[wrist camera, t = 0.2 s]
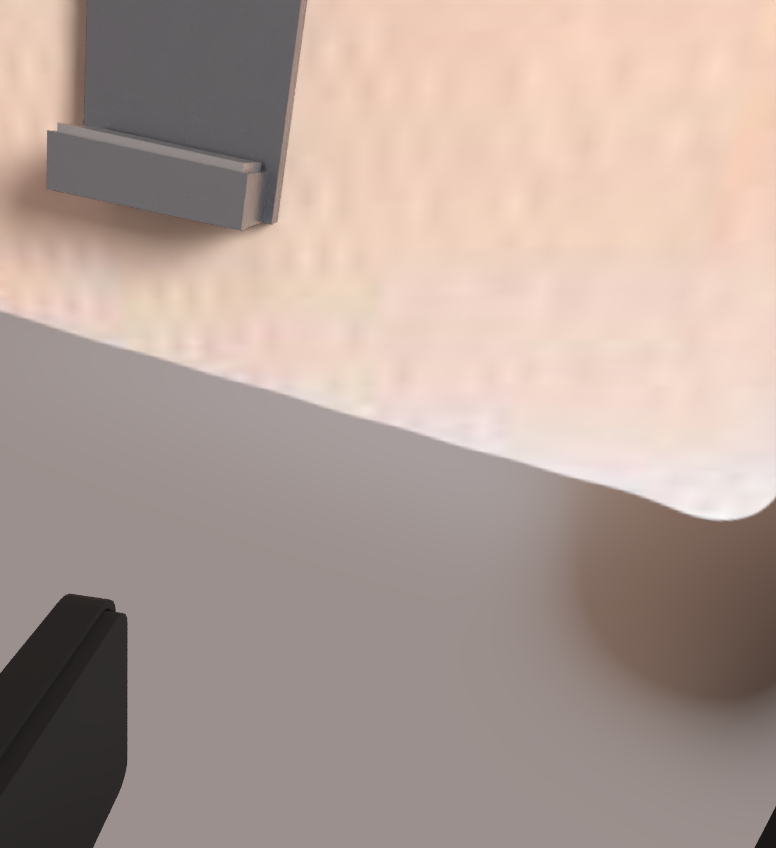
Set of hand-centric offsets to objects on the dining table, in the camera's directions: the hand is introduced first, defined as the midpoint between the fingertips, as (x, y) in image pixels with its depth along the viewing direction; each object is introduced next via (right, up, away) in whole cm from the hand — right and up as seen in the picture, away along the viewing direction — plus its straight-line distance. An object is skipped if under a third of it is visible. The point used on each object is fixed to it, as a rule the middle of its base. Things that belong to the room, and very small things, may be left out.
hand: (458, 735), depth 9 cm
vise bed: (-10, +24, +24) cm, 36 cm away
